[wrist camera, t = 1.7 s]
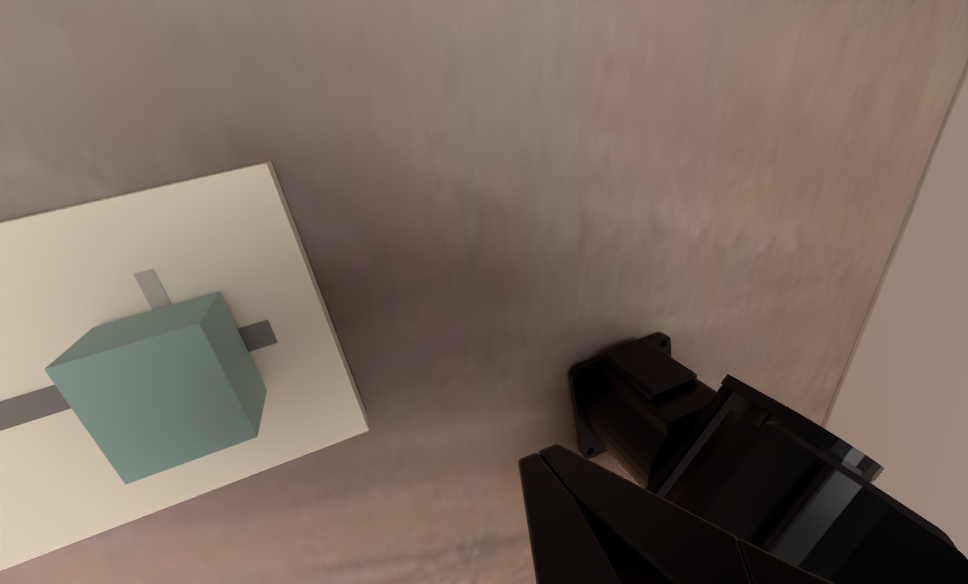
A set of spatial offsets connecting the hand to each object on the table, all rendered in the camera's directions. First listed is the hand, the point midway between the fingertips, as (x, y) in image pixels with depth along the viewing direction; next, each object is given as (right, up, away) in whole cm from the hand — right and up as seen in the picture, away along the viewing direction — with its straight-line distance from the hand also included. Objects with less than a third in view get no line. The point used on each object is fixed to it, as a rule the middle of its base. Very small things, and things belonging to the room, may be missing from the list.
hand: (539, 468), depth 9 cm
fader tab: (-12, +1, +8) cm, 14 cm away
